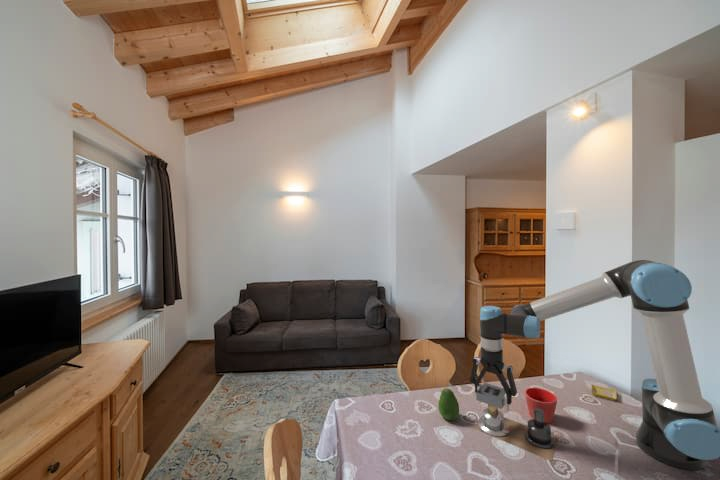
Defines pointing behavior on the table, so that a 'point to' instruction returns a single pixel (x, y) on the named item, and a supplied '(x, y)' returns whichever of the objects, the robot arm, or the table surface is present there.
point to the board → (524, 439)
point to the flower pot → (541, 402)
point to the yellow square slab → (596, 392)
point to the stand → (539, 431)
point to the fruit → (448, 405)
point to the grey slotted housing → (491, 395)
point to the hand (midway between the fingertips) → (493, 406)
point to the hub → (493, 422)
